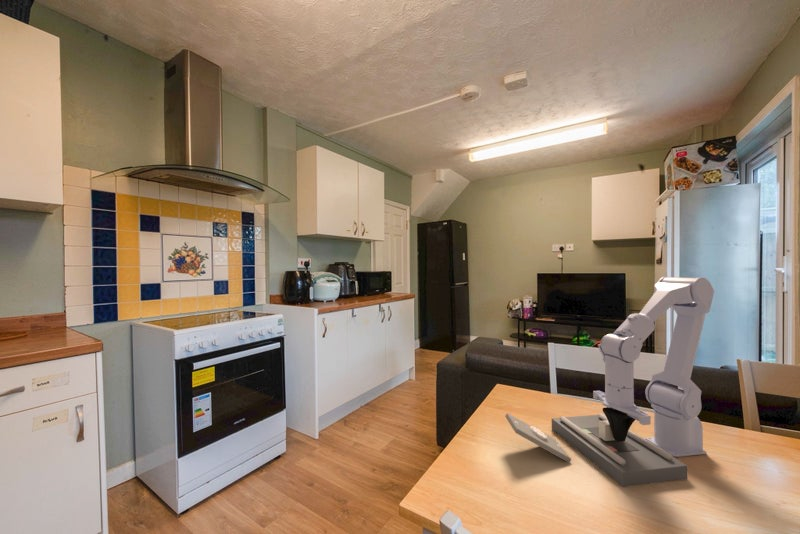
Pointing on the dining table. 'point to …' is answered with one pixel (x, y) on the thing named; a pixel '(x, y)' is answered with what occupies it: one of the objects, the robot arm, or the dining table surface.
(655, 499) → the dining table surface
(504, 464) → the dining table surface
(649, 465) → the box
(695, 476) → the dining table surface
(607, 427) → the lever
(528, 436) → the light switch
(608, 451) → the pair of cream rails
